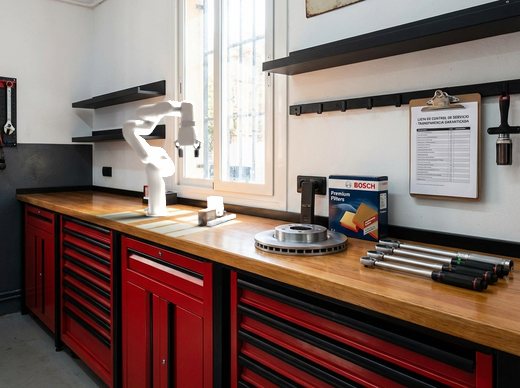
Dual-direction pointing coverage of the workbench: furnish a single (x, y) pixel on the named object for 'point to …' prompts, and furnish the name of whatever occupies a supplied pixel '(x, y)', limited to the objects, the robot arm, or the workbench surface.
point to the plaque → (207, 215)
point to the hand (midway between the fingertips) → (188, 157)
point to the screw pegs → (202, 219)
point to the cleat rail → (221, 220)
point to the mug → (216, 205)
